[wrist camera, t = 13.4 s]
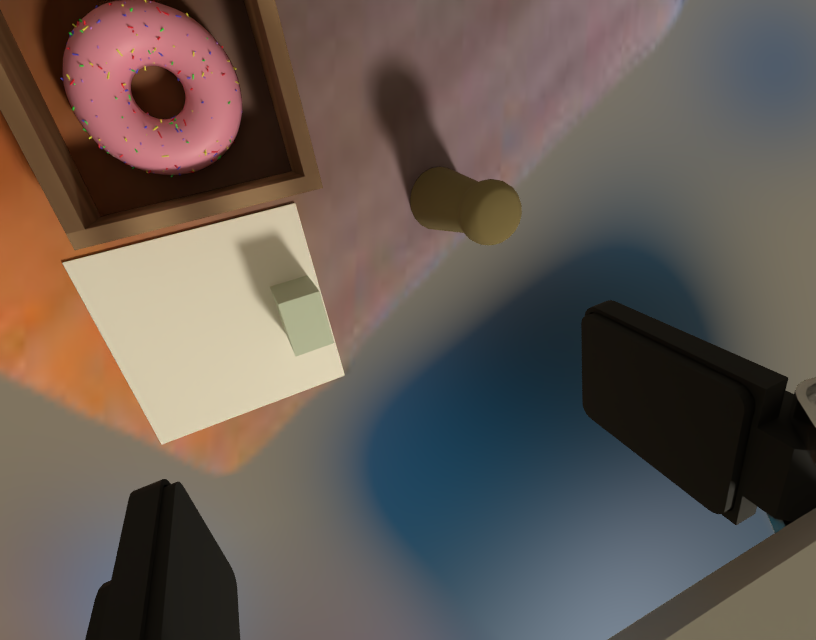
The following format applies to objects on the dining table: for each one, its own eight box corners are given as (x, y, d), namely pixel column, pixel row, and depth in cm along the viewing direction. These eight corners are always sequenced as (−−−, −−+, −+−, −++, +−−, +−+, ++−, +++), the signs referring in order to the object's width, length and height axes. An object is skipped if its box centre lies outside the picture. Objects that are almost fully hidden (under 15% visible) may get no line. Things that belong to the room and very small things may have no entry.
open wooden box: (241, -66, 32) (248, -101, 27) (308, 181, 39) (323, 187, 35) (-48, -42, 27) (-100, -80, 22) (91, 234, 34) (74, 250, 30)
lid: (293, 202, 40) (306, 211, 35) (342, 371, 48) (359, 399, 43) (64, 260, 35) (42, 281, 30) (162, 439, 43) (157, 479, 38)
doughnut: (248, 39, 34) (254, 28, 31) (231, 187, 37) (235, 193, 34) (71, -22, 29) (53, -43, 26) (68, 155, 32) (52, 157, 29)
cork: (409, 231, 45) (465, 257, 35) (410, 166, 42) (471, 175, 33) (463, 228, 47) (529, 251, 37) (467, 166, 45) (538, 175, 35)
